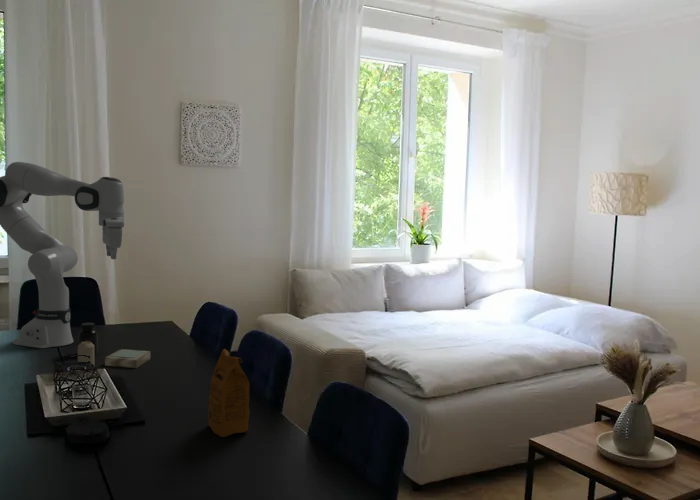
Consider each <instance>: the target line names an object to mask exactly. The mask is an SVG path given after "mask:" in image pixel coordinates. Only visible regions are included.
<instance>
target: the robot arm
mask: <svg viewBox="0 0 700 500" xmlns="http://www.w3.org/2000/svg"><path fill="white" fill-rule="evenodd" d="M124 192H125V191H124V185H123V182H122V181H121V179H119V178H115V177H109V176H102V177H100V178H99V179H98V180H97V181H95V182H93V183H87V182H83V181H79V180H76V179H74V178H71V177H69V176H68V177H67V176H66V175H63V174H60V173H58V172H55V171H53V170H50V169H48V168H45V167H43V166H40V165H38V164H33V163H30V162H23V161H14V162H11V163H10V164H9V165H8V166H6V170H5V172H4V175H2V176H0V227H1V228H2V229H3V230H4V232H5V233H6V234H7V235H8V236H9V237H10V239H12V240H13V242H14V243H16V245H17V246H19V248H20V249H21V250H24V251H25V252H29V253H30V254H31V255H30V256H29V258H28V260H27V267H28V270H29V272H30V273H31V274H32V275H33V276H34V279H35V281H36V284H37V289H38V290H37V291H38V308H37V309H35V310H33V311H32V314H33V315H34V318H32V319H31V320H29V321H28V322H27V323H26V324H25V325H23V326H22V327H21V328H20V329H19V330H20V331H19V336H18V337H17V338H15V339H14V340H12V341H13V342H12V345H16V346H22V347H23V346H24V347H30V348H37V349H47V348H52V347H53V348H54V347H62V346H66V345H71V344H72V343H74V338H73V336H72V335H73V334H72V331H71V307H70V290H69V287H68V286H67V285H66V283H65V280H64V276H63V275H64V274H63V273H66V272H69V271H71V270H72V269H73V268H74V267H75V266H76V265H77V263H78V260H79V259H78V257H79V256H78V253H77V252H76V250H75V249H74V248H72V247H71V246H68V245H66V244H64V243H63V242H61V241H60V240H58V238H56V237H54V236H53V235H51V234H50V233H48V232H47V231H46V230H45V229H44V228H43V227H42V226H41V225H40V224H39V223H38V222H37V221H36V219H34V218H33V217H32V216H31V215H30V214H29V212H27V211H26V209H24V206H23V204H27V203H28V202H29V201H30V198H31V196H32V195H36V196H43V197H51V196H52V197H53V196H54V197H55V196H71V197H74V202H75V204H76V206H77V207H78V209H80V210H82V211H87V212H93V211H94V212H98V226H99V227H100V226H101V227H102V243H103V244H104V245H105V249H106V256H107V257H110V259H111V260H116V259H117V252H118V249H120V248H121V247H122V240H123V228H124V227H125V217H124V216H125V212H124V208H123V207H124V203H125V196H124V195H125V193H124Z"/></svg>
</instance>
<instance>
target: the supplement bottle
mask: <svg viewBox="0 0 700 500" xmlns="http://www.w3.org/2000/svg"><path fill="white" fill-rule="evenodd" d="M80 329H81V330H80V331H78V345H79V344H80V343H81V342H85V341H90V342H91V343H92V344H93V345H94V356H96V355H98V354H99V353H98V351H99V348H98V347H99V345H98V343H99V341H98V339H99V338H98V331H97V330H96V324H95V322H83V323H81V324H80Z"/></svg>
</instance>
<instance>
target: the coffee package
mask: <svg viewBox="0 0 700 500" xmlns="http://www.w3.org/2000/svg"><path fill="white" fill-rule="evenodd" d="M221 350H222V351H221V353H220V355H219V358H218V360H217V363H216V365H215V367H214V370H213V373H212V376H211V381H210V387H209V396H208V427H210V429H211V430H212V433H213V434H214V435H217V436H219V437H221V438H226V437H229V436H232V435H234V434H241V433H245V432H246V431H248V430H249V421H250V420H249V418H250V407H249V404H250V381H249V379H248V377H247V375H246V373H245V372H244V371H243V369H242V367H241V364H242V363H243V359H242V358H241V357H236V356H231V355H230V353H229V351H228V350H227V349H226V348H224V349H221Z"/></svg>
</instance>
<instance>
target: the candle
mask: <svg viewBox="0 0 700 500" xmlns="http://www.w3.org/2000/svg"><path fill="white" fill-rule="evenodd" d="M78 355H86V356H90V359H89V358H88V357H85V356H78ZM88 361H90V362H91V364H93V365H94V366H95V355H94V345H93V344H92V343H91V342H90V341H85V342H81V343H80V344H79V343H78V345H77V363H78V362H88Z"/></svg>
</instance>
